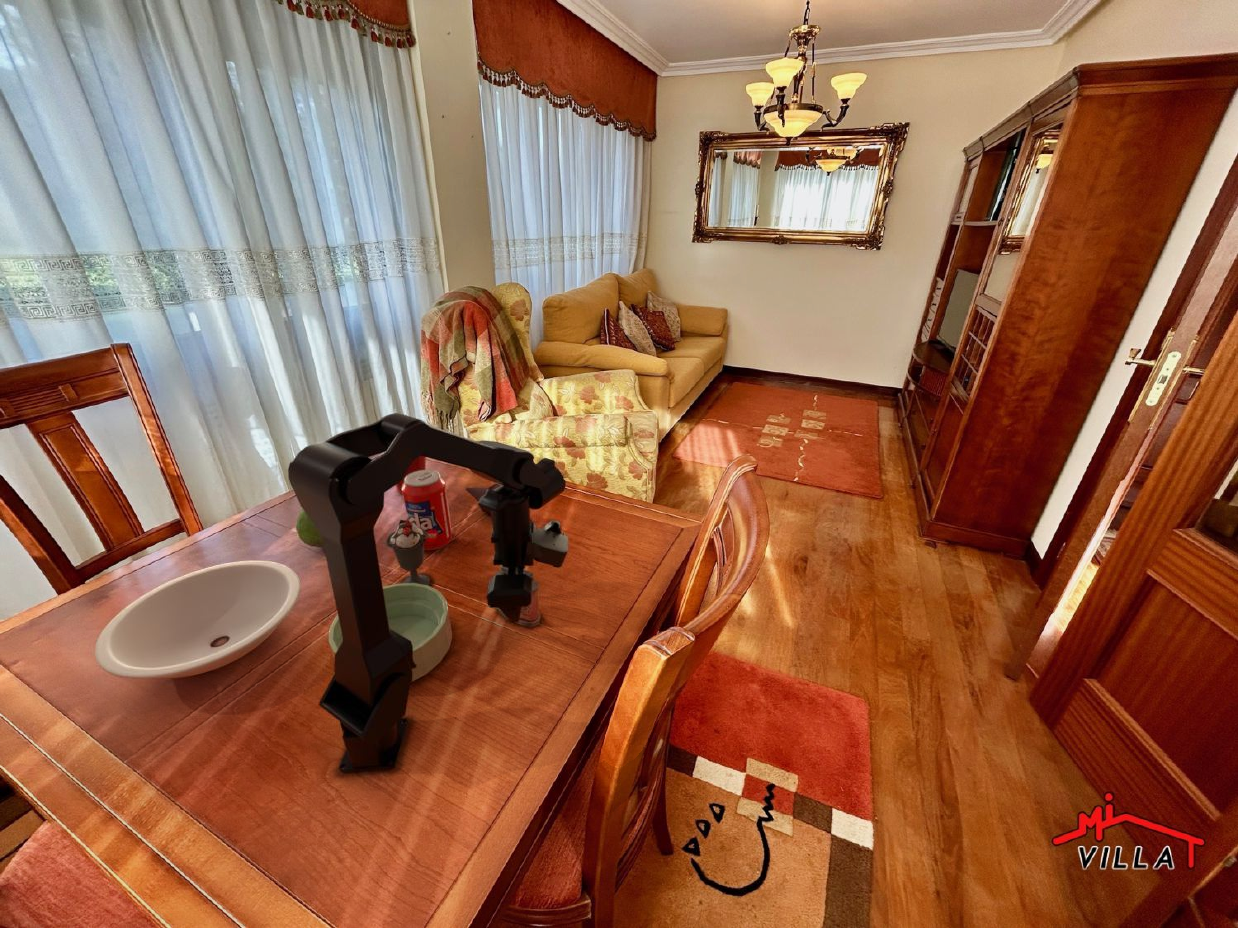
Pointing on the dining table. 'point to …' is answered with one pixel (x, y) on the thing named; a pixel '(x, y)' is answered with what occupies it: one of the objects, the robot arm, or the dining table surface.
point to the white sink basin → (198, 621)
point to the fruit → (308, 531)
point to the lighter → (530, 612)
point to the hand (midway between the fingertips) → (517, 601)
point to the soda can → (428, 506)
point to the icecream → (481, 494)
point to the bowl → (413, 623)
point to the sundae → (409, 549)
